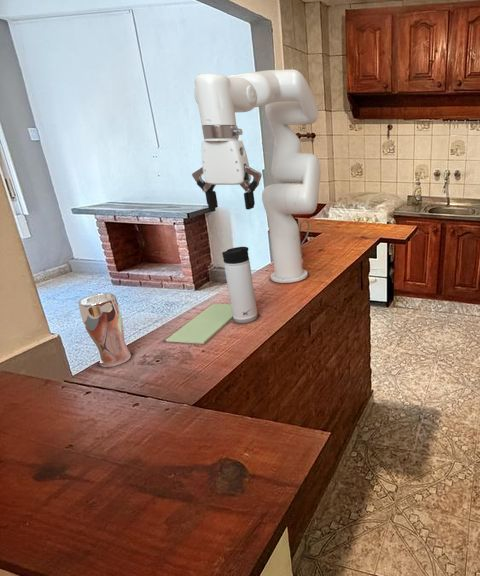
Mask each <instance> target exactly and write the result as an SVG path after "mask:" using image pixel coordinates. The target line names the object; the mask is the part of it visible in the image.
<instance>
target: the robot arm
mask: <svg viewBox="0 0 480 576" xmlns="http://www.w3.org/2000/svg"><path fill="white" fill-rule="evenodd" d="M193 96H194V100H195V103H196V104H197V105H198V112H199V116H200V117H199V119H200V124H201V129H202V135H203V136H202V137H203V140H201V150H200V151H201V166H202V167H200V168H199V169H197V170H196V171H194V172H192V173H191V176H192V178H193V180H194V181H195V182H196V185H197V186H198V187H199V188H200V189H201V190H202V193H205V200H206V204H207V206H208V210H213V209H217V208H218V207H219V205H218V198H217V192H216V190H214V189H215V187H216V186H223V185H224V186H236V185H237V186H238V185H239V186H240V187H241V188H242V189H243V190H244V193H243V199H244V207H245V209H246V210H249V211H250V210H252V209H255V204H256V202H255V194H254V192H255V191H256V189H257V188H258V186H260V181H261V179H262V176H263V174H262V172H260V171H258V170H256V169H255V168H252V167H251V166H250V162H249V159H248V155H247V152H246V148H245V145H244V142H243V140H239V136H242V135H243V133H244V131H243V129H242V128H238V125H237V120H236V119H237V118H236V113H248V112H250V111H251V112H252V110H254V108H261V107H264V112H265V117H266V119H267V122H268V125H269V127H270V130H271V132H272V135H273V138H274V144H273V145H274V146H273V151H272V152H273V153H272V159H271V168H270V169H271V177H272V179H273V180H274V181H275V182H277V183H272V184H268V185H267V186H265V187H264V188H263V190H262V193H261V201H262V204H263V208H264V211H265V215H266V218H267V223H268V230H269V238H270V247H271V255H272V262H273V270H274V271H273V272H272V273H271V274H270V275H269V276H270V280H271V281H273V282H275V283H278V284H290V283H297V282H300V281H303V280H305V279H306V278H307V277H308V276H309V275H308V271H307V270H306V269H303V268H304V267H303V263H304V259H303V257H301V251H302V247H301V248H300V241H301V236H300V237H299V230H300V226H299V227H298V224H299V223H298V224H297V222H296V221H295V219H294V218H295V217H294V216H293V215H312V214H313V213H315V212H316V210H317V207H318V200H319V195H320V194H319V193H320V185H321V172H322V171H321V163H320V159H319V158H318V156H317V155H315V154H314V153H311V152H301V149H302V142H301V139H300V138H299V136H298V135H297V134H296V133H295V131H294V130H293V129H292V128H291V127H290V126H298V125H299V126H302V125H303V126H305V125H306V126H307V125H308V126H309V125H313V124H314V123H316V122H317V121H318V118H319V107H318V103H317V101H316V98H315V96H314V94H313V92H312V90H311V87H310V85H309V83H308V81H307V80H306V78H305V76H304V75H303V74H302V72H300V71H299V70H297V69H290V68H289V69H269V70H268V69H267V70H259V71H251V72H243V73H238V74H232V75H224V74H219V73H200V74H197V75H196V76H195V78H194V89H193ZM202 176H203V178H204V179H203V178H202ZM252 177H253V179H252ZM251 180H252V181H251Z"/></svg>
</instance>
